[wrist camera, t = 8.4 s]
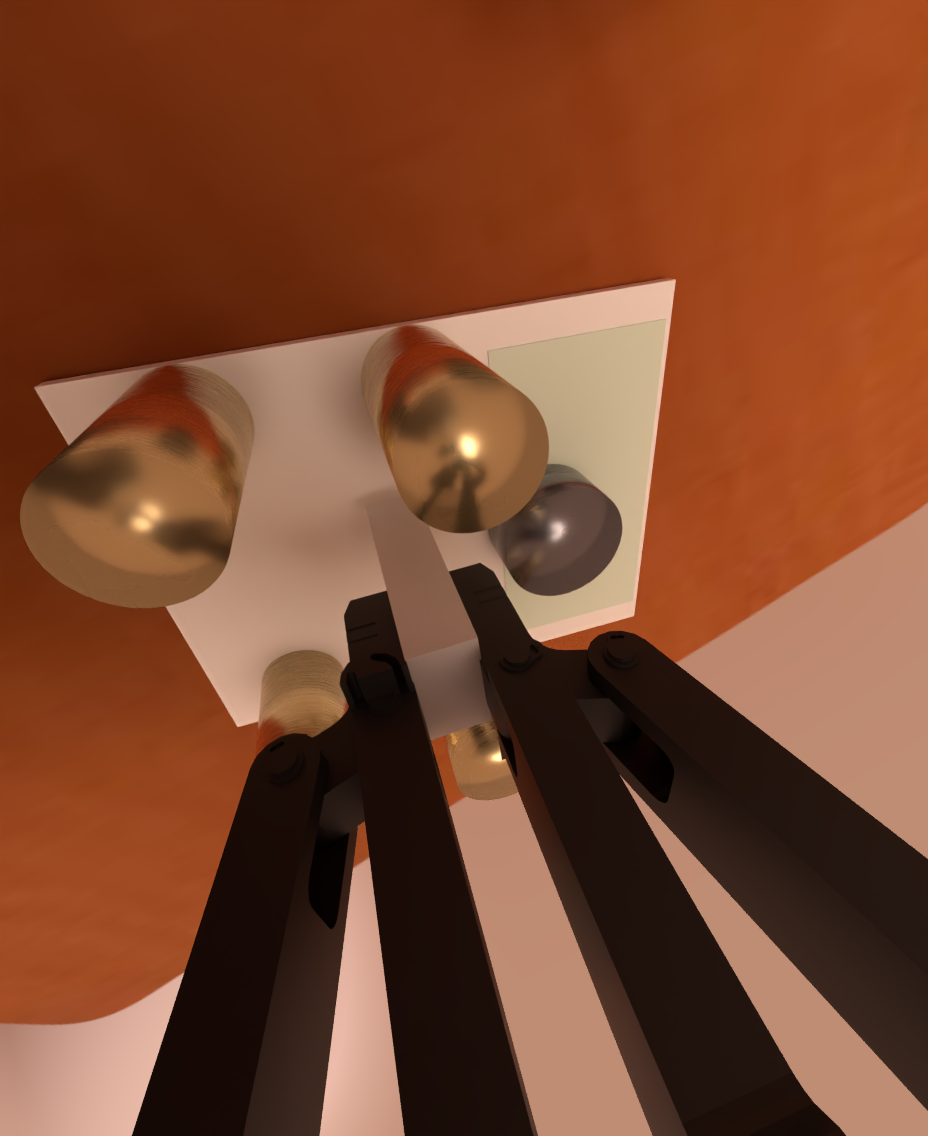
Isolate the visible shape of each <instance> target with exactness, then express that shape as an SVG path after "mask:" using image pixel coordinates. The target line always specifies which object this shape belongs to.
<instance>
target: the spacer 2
mask: <svg viewBox="0 0 928 1136" xmlns="http://www.w3.org/2000/svg"><path fill="white" fill-rule="evenodd" d="M343 670H344V669H343V667H342V665H341V664H340V662H339V661H338V660H337V659H335V658H334V657H332V656H331V655H329V654H326V653H323V652H320V651H314V650H301V651H295V652H291V653H288V654H285V655H283V656H281V657H279V658H277V659H276V660H274V661H273V662H272V663H271V664H270V665H269V666H268V667H267V668H266V670H265V672H264V674H263V677H262V685H261V697H260V710H259V722H258V734H257V747H256V756H257V755H258V754H259V753H260V752H261V751H262V750H263V749H264V748H265V747H266V745H267V744H269V743H271V742H272V741H274V740H276V739H277V738H279V737H281V736H285V735H288V734H292V733H301V734H307V735H308V736H310V737H312V738H313V737H315V736H316V735H318V734H319V733H321V732H323V731H324V730H326V729H327V728H329V727H330V726H332V725H333V724H334V723H336V722H337V721H338V720H339V719H340V718H341V717H342V716H343V715H344V714H345V713H346V711H347V710H348V703H347V701H346V698H345V696H344V694H343V692H342V689H341V687H340V685H339V684H340V677H341V673H342V671H343ZM358 828H359V825H358ZM357 831H358V830H357Z"/></svg>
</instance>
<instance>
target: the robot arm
mask: <svg viewBox="0 0 928 1136" xmlns="http://www.w3.org/2000/svg"><path fill="white" fill-rule="evenodd" d="M365 507H366V511H367V515H368V519H369V522H370V526H371V530H372V534H373V538H374V542H375V546H376V550H377V554H378V558H379V561H380V565H381V569H382V573H383V577H384V581H385V585H386V589H387V590H386V591H383V592H379V593H376V594H372V595H369V596H365V597H362V598H358V599H354V600H351V601H350V602H349V604H348V607H347V609H346V612H345V614H344V622H345V630H346V637H347V643H348V652H349V660H350V662H349V663H348V664H347V665H346V667H345V668H344V670H343V671H342V673H341V677H340V684H339V685H340V687H341V689H342V692H343V694H344V696H345V698H346V701H347V703H348V705H349V708H348V710H347V711H346V713H345V714H344V715H343V716H342V717H341V718H340V719H339V720H338V721H337V722H336V723H334V724H333V725H332V726H330V727H329V728H327V729H326V730H324V731H323V732H321V733H319V734H318V735H316V736H315V737H313V738H312V737H310V736H308V735H307V734H301V733H292V734H288V735H285V736H281V737H279V738H277V739H276V740H274V741H272V742H271V743H269V744H267V745H266V747H265V748H264V749H263V750H262V751H261V752H260V753H259V754H258V755H257V756H256V758H255V760H254V762H253V764H252V766H251V768H250V771H249V774H248V777H247V780H246V783H245V786H244V789H243V792H242V796H241V799H240V802H239V805H238V808H237V811H236V814H235V817H234V820H233V823H232V827H231V830H230V833H229V836H228V839H227V842H226V845H225V848H224V851H223V854H222V858H221V861H220V864H219V867H218V870H217V873H216V876H215V879H214V882H213V886H212V889H211V892H210V895H209V898H208V901H207V904H206V907H205V910H204V913H203V917H202V920H201V923H200V926H199V929H198V932H197V935H196V938H195V941H194V944H193V948H192V951H191V954H190V957H189V960H188V963H187V966H186V969H185V972H184V975H183V979H182V982H181V985H180V988H179V991H178V994H177V997H176V1001H175V1003H174V1007H173V1010H172V1013H171V1016H170V1019H169V1022H168V1025H167V1028H166V1031H165V1034H164V1038H163V1041H162V1044H161V1047H160V1050H159V1053H158V1056H157V1060H156V1062H155V1066H154V1069H153V1072H152V1075H151V1078H150V1081H149V1084H148V1087H147V1090H146V1093H145V1097H144V1100H143V1103H142V1106H141V1109H140V1112H139V1115H138V1118H137V1121H136V1125H135V1128H134V1131H133V1134H132V1136H319V1134H320V1126H321V1119H322V1111H323V1103H324V1094H325V1086H326V1079H327V1071H328V1062H329V1054H330V1047H331V1038H332V1030H333V1023H334V1015H335V1006H336V999H337V991H338V983H339V975H340V966H341V958H342V950H343V942H344V934H345V926H346V918H347V910H348V902H349V894H350V886H351V878H352V870H353V862H354V854H355V846H356V838H357V830H358V825H360V824H361V823H363V822H364V821H365V825H366V833H367V841H368V848H369V856H370V864H371V872H372V880H373V888H374V896H375V904H376V912H377V920H378V927H379V935H380V943H381V951H382V958H383V967H384V975H385V983H386V991H387V999H388V1007H389V1014H390V1022H391V1030H392V1038H393V1046H394V1054H395V1062H396V1070H397V1078H398V1086H399V1093H400V1102H401V1109H402V1117H403V1125H404V1133H405V1136H538V1134H537V1131H536V1127H535V1123H534V1120H533V1116H532V1112H531V1108H530V1105H529V1101H528V1097H527V1093H526V1090H525V1086H524V1083H523V1079H522V1075H521V1071H520V1068H519V1064H518V1060H517V1057H516V1053H515V1049H514V1045H513V1042H512V1038H511V1034H510V1031H509V1027H508V1023H507V1020H506V1016H505V1012H504V1008H503V1005H502V1001H501V997H500V994H499V990H498V987H497V983H496V979H495V975H494V971H493V968H492V964H491V960H490V957H489V953H488V949H487V946H486V942H485V938H484V935H483V931H482V927H481V923H480V920H479V916H478V912H477V909H476V905H475V901H474V898H473V894H472V890H471V886H470V883H469V879H468V875H467V872H466V868H465V864H464V860H463V857H462V853H461V850H460V846H459V842H458V839H457V835H456V831H455V827H454V824H453V820H452V816H451V813H450V809H449V805H448V801H447V798H446V794H445V790H444V787H443V783H442V779H441V775H440V772H439V768H438V764H437V761H436V758H435V754H434V751H433V747H432V744H431V740H433V739H436V738H439V737H442V736H445V735H448V734H451V733H454V732H457V731H460V730H463V729H466V728H469V727H472V726H475V725H478V724H481V723H485V722H488V721H491V715H492V717H493V720H494V722H495V725H496V727H497V734H498V740H499V746H500V753H501V759H502V760H504V759H506V761H507V764H508V766H509V769H510V771H511V774H512V777H513V779H514V782H515V784H516V787H517V789H518V792H519V794H520V797H521V800H522V802H523V804H524V807H525V810H526V812H527V815H528V817H529V820H530V823H531V825H532V828H533V830H534V833H535V835H536V838H537V840H538V843H539V846H540V848H541V851H542V853H543V856H544V858H545V861H546V863H547V866H548V869H549V871H550V874H551V876H552V879H553V881H554V884H555V886H556V889H557V891H558V894H559V897H560V899H561V901H562V904H563V907H564V910H565V912H566V915H567V917H568V920H569V922H570V925H571V928H572V930H573V933H574V935H575V938H576V940H577V943H578V946H579V948H580V950H581V953H582V956H583V958H584V961H585V963H586V966H587V968H588V971H589V974H590V976H591V979H592V981H593V983H594V987H595V989H596V991H597V994H598V997H599V999H600V1002H601V1004H602V1007H603V1010H604V1012H605V1015H606V1017H607V1020H608V1022H609V1025H610V1027H611V1030H612V1033H613V1035H614V1038H615V1040H616V1043H617V1045H618V1048H619V1050H620V1053H621V1056H622V1058H623V1061H624V1063H625V1066H626V1068H627V1071H628V1074H629V1076H630V1079H631V1081H632V1084H633V1086H634V1089H635V1091H636V1094H637V1097H638V1099H639V1102H640V1104H641V1107H642V1109H643V1112H644V1115H645V1117H646V1120H647V1122H648V1125H649V1127H650V1130H651V1132H652V1135H653V1136H846V1135H845V1134H844V1132H843V1131H842V1130H841V1129H840V1127H838V1125H836V1124H835V1123H834V1122H833V1121H832V1120H831V1119H830V1118H829V1117H828V1116H827V1115H826V1114H825V1113H824V1112H823V1111H822V1110H821V1109H820V1108H819V1107H818V1106H817V1105H816V1104H815V1103H814V1102H813V1101H812V1100H811V1098H810V1097H809V1096H808V1095H807V1093H806V1092H805V1091H804V1089H803V1088H802V1086H801V1085H800V1083H799V1082H798V1080H797V1079H796V1077H795V1075H794V1074H793V1072H792V1070H791V1069H790V1067H789V1066H788V1064H787V1062H786V1060H785V1058H784V1057H783V1055H782V1053H781V1052H780V1050H779V1048H778V1046H777V1045H776V1043H775V1041H774V1040H773V1038H772V1036H771V1034H770V1033H769V1031H768V1029H767V1028H766V1026H765V1024H764V1022H763V1021H762V1019H761V1017H760V1015H759V1014H758V1012H757V1010H756V1009H755V1007H754V1005H753V1004H752V1002H751V1000H750V998H749V997H748V995H747V993H746V991H745V990H744V988H743V986H742V985H741V983H740V981H739V979H738V978H737V976H736V974H735V972H734V971H733V969H732V967H731V966H730V964H729V962H728V960H727V959H726V957H725V955H724V954H723V952H722V950H721V948H720V947H719V945H718V943H717V942H716V940H715V938H714V936H713V935H712V933H711V931H710V929H709V928H708V926H707V924H706V923H705V921H704V919H703V917H702V916H701V914H700V912H699V911H698V909H697V907H696V905H695V904H694V902H693V900H692V899H691V897H690V895H689V893H688V892H687V890H686V888H685V887H684V885H683V883H682V881H681V880H680V878H679V876H678V875H677V873H676V871H675V869H674V868H673V866H672V864H671V862H670V861H669V859H668V857H667V856H666V854H665V852H664V850H663V849H662V847H661V845H660V844H659V842H658V840H657V838H656V837H655V835H654V833H653V831H652V830H651V828H650V826H649V825H648V823H647V821H646V819H645V818H644V816H643V814H642V813H641V811H640V809H639V807H638V806H637V804H636V802H635V800H634V799H633V797H632V795H631V794H630V792H629V790H628V788H627V787H626V785H625V784H624V782H623V780H622V778H623V779H624V780H625V781H626V782H627V783H628V784H629V785H630V786H631V787H632V789H633V790H634V791H635V792H636V793H637V794H638V795H639V796H640V797H641V798H642V799H643V801H645V803H646V804H647V805H648V806H649V807H650V808H651V809H652V810H653V811H654V813H655V814H656V815H657V816H658V817H659V818H660V819H661V820H662V821H663V822H664V823H665V824H666V826H667V827H668V828H669V829H670V830H671V831H672V832H673V833H674V834H675V835H676V837H677V838H678V839H679V840H680V841H681V842H682V843H683V844H684V845H685V846H686V847H687V849H688V850H689V851H690V852H691V853H692V854H693V855H694V856H695V857H696V858H697V859H698V860H699V861H700V863H701V864H702V865H703V866H704V867H705V868H706V869H707V870H708V871H709V873H710V874H711V875H712V876H713V877H714V878H715V879H716V880H717V881H718V882H719V883H720V885H722V887H723V888H724V889H725V890H726V891H727V892H728V893H729V894H730V895H731V897H732V898H733V899H734V900H735V901H736V902H737V903H738V904H739V905H740V906H741V907H742V908H743V910H744V911H745V912H746V913H747V914H748V915H749V916H750V917H751V918H752V919H753V921H754V922H755V923H756V924H757V925H758V926H759V927H760V928H761V929H762V930H763V931H764V933H765V934H766V935H768V937H769V938H770V939H771V940H772V941H773V942H774V943H775V945H776V946H777V947H778V948H779V949H780V950H781V951H782V952H783V953H784V954H785V955H786V957H787V958H788V959H789V960H790V961H791V962H792V963H793V964H794V965H795V966H796V967H797V969H798V970H799V971H800V972H801V973H802V974H803V975H804V976H805V977H806V978H807V980H808V981H809V982H810V983H811V984H812V985H813V986H814V987H815V988H816V989H817V990H818V991H819V992H820V994H821V995H822V996H823V997H824V998H825V999H826V1000H827V1001H828V1002H829V1003H830V1005H831V1006H832V1007H833V1008H834V1009H835V1010H836V1011H837V1012H838V1013H839V1014H840V1016H841V1017H842V1018H843V1019H844V1020H845V1021H846V1022H847V1023H848V1024H849V1025H850V1026H851V1028H852V1029H853V1030H854V1031H855V1032H856V1033H857V1034H858V1035H859V1036H860V1037H861V1038H862V1040H863V1041H865V1043H866V1044H867V1045H868V1046H869V1047H870V1048H871V1049H872V1050H873V1051H874V1053H875V1054H876V1055H877V1056H878V1057H879V1058H880V1059H881V1060H882V1061H883V1062H884V1064H886V1066H887V1067H888V1068H889V1069H890V1070H891V1071H892V1072H893V1073H894V1074H895V1075H896V1077H897V1078H898V1079H899V1080H900V1081H901V1082H902V1083H903V1084H904V1085H905V1086H906V1087H907V1089H908V1090H909V1091H910V1092H911V1093H912V1094H913V1095H914V1096H915V1097H916V1098H917V1100H918V1101H919V1102H920V1103H921V1104H922V1105H923V1106H924V1107H925V1108H926V1109H927V1110H928V859H927V858H926V857H924V856H923V855H922V854H920V853H919V852H918V851H917V850H915V849H914V848H913V847H911V846H910V845H909V844H907V843H906V842H905V841H904V840H902V839H901V838H900V837H898V836H897V835H896V834H895V833H893V832H892V831H891V830H890V829H888V828H887V827H886V826H884V825H883V824H882V823H881V822H879V821H878V820H877V819H875V818H874V817H873V816H872V815H870V814H869V813H868V812H866V811H865V810H864V809H863V808H861V807H860V806H859V805H857V804H856V803H855V802H853V801H852V800H851V799H850V798H848V797H847V796H846V795H844V794H843V793H842V792H841V791H839V790H838V789H837V788H835V787H834V786H833V785H832V784H830V783H829V782H828V781H826V780H825V779H824V778H823V777H821V776H820V775H819V774H817V773H816V772H815V771H814V770H812V769H811V768H810V767H808V766H807V765H806V764H805V763H803V762H802V761H801V760H799V759H798V758H797V757H796V756H794V755H793V754H792V753H790V752H789V751H788V750H787V749H785V748H784V747H783V746H781V745H780V744H779V743H778V742H776V741H775V740H774V739H772V738H771V737H770V736H768V735H767V734H766V733H765V732H763V731H762V730H761V729H759V728H758V727H757V726H756V725H754V724H753V723H752V722H750V721H749V720H748V719H746V718H745V717H744V716H743V715H741V714H740V713H739V712H738V711H736V710H735V709H734V708H732V707H731V706H730V705H729V704H727V703H726V702H725V701H723V700H722V699H721V698H719V697H718V696H717V695H716V694H714V693H713V692H712V691H711V690H709V689H708V688H707V687H705V686H704V685H703V684H701V683H700V682H699V681H698V680H696V679H695V678H694V677H692V676H691V675H690V674H689V673H687V672H686V671H685V670H683V669H682V668H681V667H680V666H678V665H677V664H676V663H674V662H673V661H672V660H671V659H669V658H668V657H667V656H665V655H664V654H663V653H662V652H660V651H659V650H658V649H656V648H655V647H654V646H653V645H651V644H650V643H649V642H647V641H646V640H645V639H643V638H641V637H639V636H637V635H636V634H633V633H629V632H624V631H609V632H607V633H604V634H601V635H598V636H597V637H596V638H595V639H594V640H593V641H591V643H590V645H589V648H588V650H556V649H551V648H548V647H545V646H543V645H542V644H541V643H540V642H539V641H537V640H535V639H533V638H532V637H531V636H530V634H529V633H528V631H527V629H526V628H525V626H524V624H523V622H522V620H521V619H520V617H519V615H518V613H517V612H516V610H515V608H514V606H513V605H512V603H511V601H510V599H509V597H507V594H506V592H505V590H504V589H503V587H502V586H501V583H500V582H499V580H498V578H497V576H496V575H495V573H494V571H492V570H491V569H489V568H488V567H486V566H485V565H483V564H482V563H477V564H474V565H470V566H467V567H463V568H459V569H456V570H452V571H448V569H447V567H446V565H445V562H444V560H443V558H442V555H441V553H440V551H439V549H438V546H437V544H436V542H435V540H434V537H433V535H432V533H431V530H430V528H429V526H428V525H427V524H426V523H424V522H423V521H421V520H420V519H418V518H417V517H416V516H415V515H414V514H413V513H412V512H411V511H410V510H409V508H408V507H407V506H406V504H405V503H404V501H403V500H402V498H401V496H397V497H393V498H390V499H386V500H382V501H378V502H374V503H370V504H366V505H365ZM490 712H491V714H490ZM619 774H620V775H621V777H622V778H621V777H620V775H619Z"/></svg>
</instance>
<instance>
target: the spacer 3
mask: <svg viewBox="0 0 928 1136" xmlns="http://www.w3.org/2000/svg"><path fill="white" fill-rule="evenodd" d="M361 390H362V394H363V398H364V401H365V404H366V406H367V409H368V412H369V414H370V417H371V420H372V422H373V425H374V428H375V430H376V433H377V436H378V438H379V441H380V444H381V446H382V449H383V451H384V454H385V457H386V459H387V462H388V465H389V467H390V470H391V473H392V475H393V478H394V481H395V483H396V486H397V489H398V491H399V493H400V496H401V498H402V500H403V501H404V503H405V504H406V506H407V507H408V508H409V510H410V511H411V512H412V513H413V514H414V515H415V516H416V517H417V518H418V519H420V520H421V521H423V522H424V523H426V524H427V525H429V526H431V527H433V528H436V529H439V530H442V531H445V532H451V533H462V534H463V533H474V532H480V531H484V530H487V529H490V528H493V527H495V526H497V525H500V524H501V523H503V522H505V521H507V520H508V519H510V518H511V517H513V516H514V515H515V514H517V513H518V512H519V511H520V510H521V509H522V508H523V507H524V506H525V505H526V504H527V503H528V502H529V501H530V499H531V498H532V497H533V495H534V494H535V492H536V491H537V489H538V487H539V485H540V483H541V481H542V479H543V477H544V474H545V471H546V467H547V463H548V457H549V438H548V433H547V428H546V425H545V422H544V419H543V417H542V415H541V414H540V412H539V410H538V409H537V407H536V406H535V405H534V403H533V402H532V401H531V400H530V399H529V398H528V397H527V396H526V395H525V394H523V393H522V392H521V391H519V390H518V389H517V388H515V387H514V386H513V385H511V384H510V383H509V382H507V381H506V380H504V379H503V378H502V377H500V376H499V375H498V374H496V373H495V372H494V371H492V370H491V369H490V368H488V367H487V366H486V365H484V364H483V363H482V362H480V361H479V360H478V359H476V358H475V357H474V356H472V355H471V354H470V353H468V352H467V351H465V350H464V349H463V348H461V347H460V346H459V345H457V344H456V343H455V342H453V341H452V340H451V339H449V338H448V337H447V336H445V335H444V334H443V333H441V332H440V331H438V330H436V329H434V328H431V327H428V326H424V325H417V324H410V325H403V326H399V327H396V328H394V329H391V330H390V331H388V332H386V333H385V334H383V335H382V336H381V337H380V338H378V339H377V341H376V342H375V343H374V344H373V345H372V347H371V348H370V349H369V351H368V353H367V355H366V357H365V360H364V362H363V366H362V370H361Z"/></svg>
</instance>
